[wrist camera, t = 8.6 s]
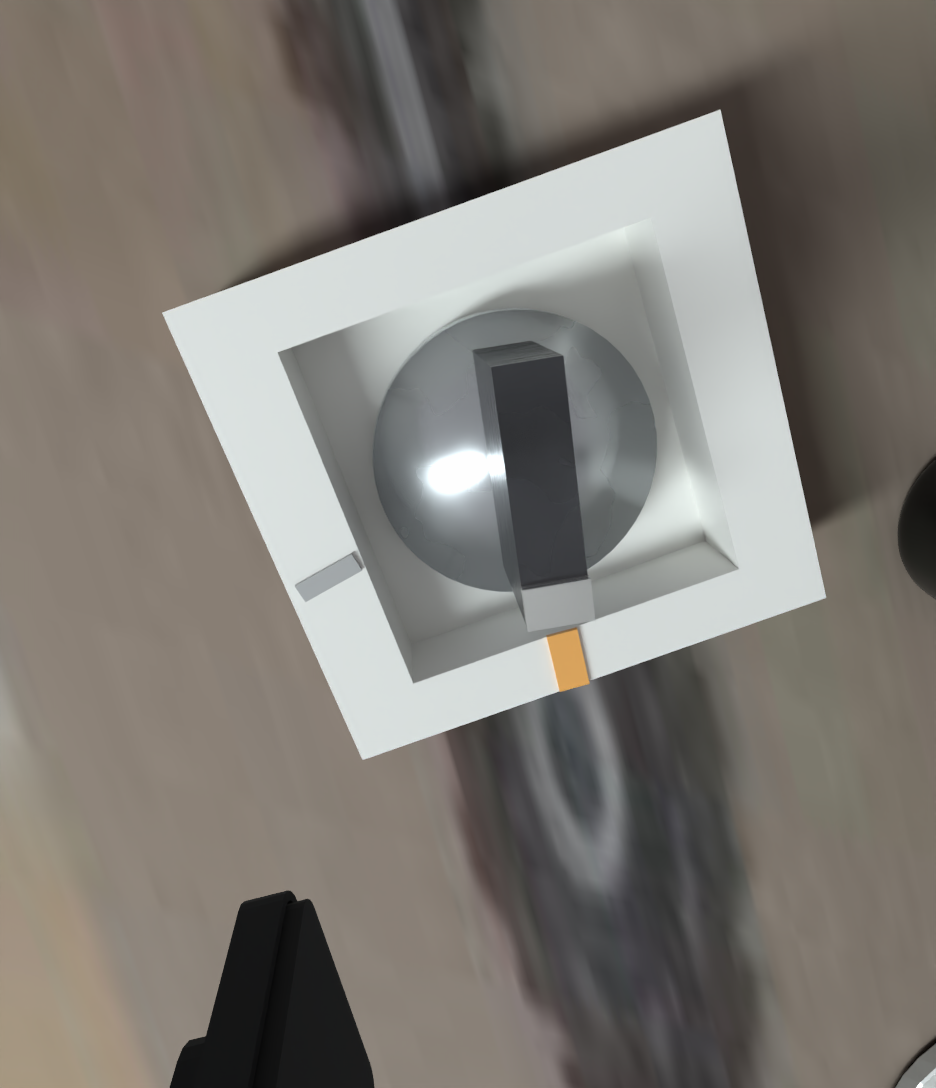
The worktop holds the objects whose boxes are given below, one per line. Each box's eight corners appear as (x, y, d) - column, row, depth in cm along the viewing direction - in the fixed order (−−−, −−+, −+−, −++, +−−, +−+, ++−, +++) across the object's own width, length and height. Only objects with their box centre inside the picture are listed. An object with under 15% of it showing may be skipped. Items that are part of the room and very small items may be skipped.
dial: (349, 332, 26) (335, 349, 20) (632, 286, 26) (709, 290, 20) (399, 597, 29) (401, 688, 22) (654, 554, 29) (727, 631, 23)
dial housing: (767, 554, 31) (828, 600, 27) (366, 695, 32) (362, 762, 27) (667, 136, 27) (722, 108, 22) (198, 306, 27) (160, 312, 23)
